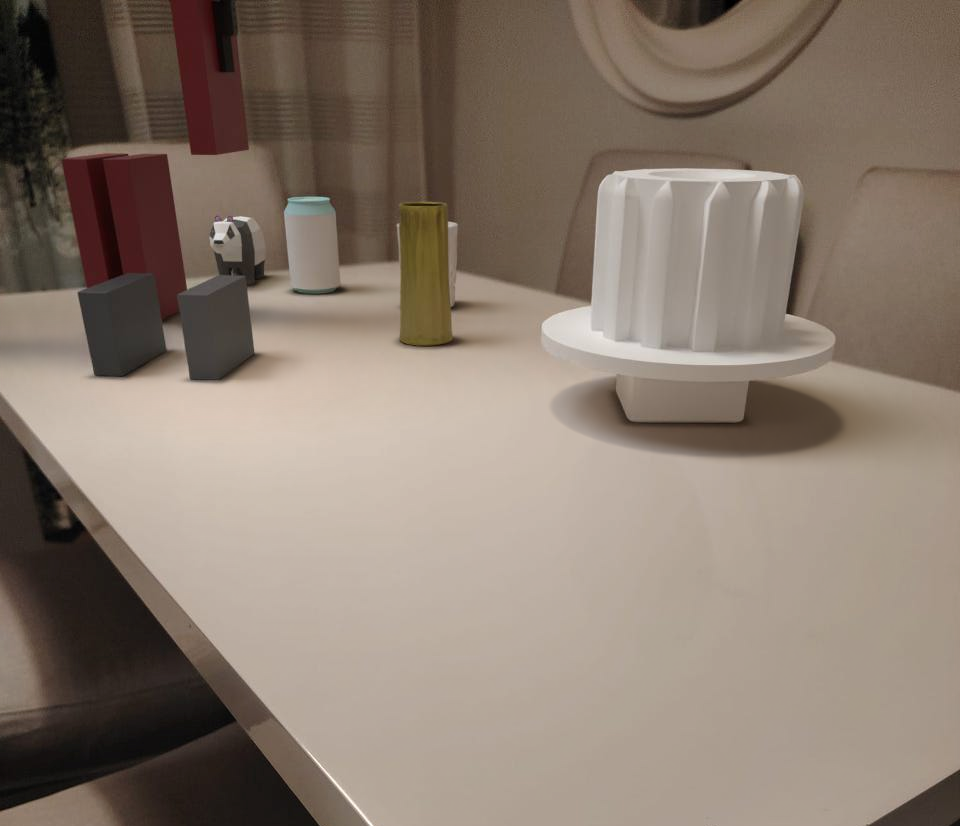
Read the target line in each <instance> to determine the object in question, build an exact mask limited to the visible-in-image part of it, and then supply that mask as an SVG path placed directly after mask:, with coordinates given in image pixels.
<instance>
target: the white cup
mask: <svg viewBox="0 0 960 826" xmlns="http://www.w3.org/2000/svg"><path fill="white" fill-rule="evenodd" d="M458 236H459V224H458V223H457V222H453V221H448V260H449V291H450V306H451V308H453V306H455V304H456V287H455V286H456V283H457V267H458V239H459V238H458ZM396 237H397V249H398V259H399V260H398V261H399V264H400V235H399V223H396Z"/></svg>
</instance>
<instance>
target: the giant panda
mask: <svg viewBox="0 0 960 826" xmlns="http://www.w3.org/2000/svg"><path fill="white" fill-rule="evenodd" d="M208 237H209V244H210V248H211V249H212V250H213V253H214V254H213V255H214V257H215V262H216V266H217V271H218V275H234V276H246V284H247V286H252V285H254V284H255V279H263V278H264V277H265V264H266V263H265V262H266V250H267V249H266V247H267V246H266V242H265V238H264V233H263V231H262V229H261V227H260V225H259V224H258V223H257V221H256V219H255V218H253V217H249V216H243V215H240V216H239V215H238V216H231V215H228V216H227V217H226V218H225V219H223V220H222V217H221V216H219V215H215V216H214V221H213V224H212V227H211V229H210V233H209V234H208Z"/></svg>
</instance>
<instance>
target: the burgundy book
mask: <svg viewBox="0 0 960 826" xmlns="http://www.w3.org/2000/svg"><path fill="white" fill-rule="evenodd" d="M212 1H220V0H170V2H169V4H170V13H171V19H172V20H171V21H172V27H173V34H174V39H175V40H174V41H175V48H176V54H177V64H178V69H179V77H180V83H181V85H180V86H181V91H182V99H183V106H184V107H183V108H184V114H185V120H186V127H187V135H188V143H189V151H190V155H192V156H219V155H226V154H233V153H237V152H238V153H239V152H245V151H249V150H250V146H249V145H250V144H249V137H248V128H247V118H246V111H245V110H246V109H245V101H244V99H245V98H244V90H243V81H242V72H241V63H240V62H241V61H240V54H239V53H240V52H239V45H238V36H237V37H231V43H232V52H233V61H234V69H235V72H220V68H219V59H218V51H217V43H216V34H215V26H214V18H213V9H212Z"/></svg>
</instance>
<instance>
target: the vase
mask: <svg viewBox="0 0 960 826" xmlns="http://www.w3.org/2000/svg"><path fill="white" fill-rule="evenodd" d="M398 219H399V235H400V263H399V270H400V271H399V272H400V287H399V288H400V292H399V293H400V294H399V295H400V297H399V300H400V301H399V302H400V314H399V315H400V316H399V317H400V320H399V321H400V324H399V325H400V328H399V329H400V331H399V340H400V341H401V342H402V343H404V344H406V345H411V346H419V347H429V346H440V345H445V344H448V343H450V342H452V341H453V340H454V337H453V336H454V335H453V329H452V309H451V308H452V307H451V306H450V291H449V260H448V222H449V213H448V204H447V202H442V201H441V202H440V201H406V202H400V203H399V204H398Z"/></svg>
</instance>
